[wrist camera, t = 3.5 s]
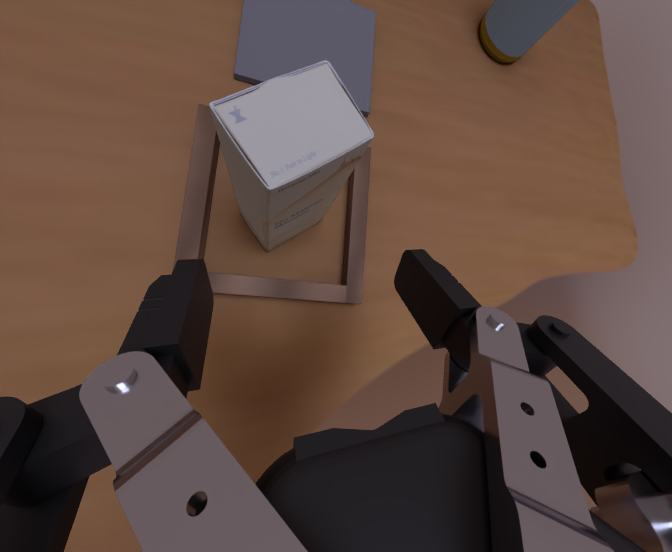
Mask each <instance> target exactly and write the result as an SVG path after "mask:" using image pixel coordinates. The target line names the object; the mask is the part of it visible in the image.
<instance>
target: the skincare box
mask: <svg viewBox="0 0 672 552" xmlns="http://www.w3.org/2000/svg"><path fill="white" fill-rule="evenodd" d="M209 107H210V110H211V114H212V117H213V121H214V124H215V127H216V131H217V134H218V137H219V141H220V144H221V148H222V151H223V155H224V158H225V162H226V165H227V169H228V172H229V176H230V179H231V182H232V186H233V189H234V193H235V196H236V200H237V203H238V207H239V210H240V213H241V215H242V217H243V218H244V220H245V221H246V223H247V224H248V226H249V227H250V229H251V230H252V232H253V233H254V235H255V236H256V238H257V239H258V240H259V242H260V243H261V244H262V246H263V247H264V249H265V250H266V251H267V252H269V251H271V250H272V249H274V248H276V247H277V246H279V245H281V244H283V243H285V242H286V241H288V240H290V239H291V238H293V237H295V236H297V235H298V234H300V233H302V232H303V231H305V230H307V229H308V228H310V227H312V226H313V225H315V224H316V223H318V222H320V221H321V220H322V219H323V217H324V216H325V214H326V213H327V211H328V209H329V208H330V206H331V205H332V203H333V202H334V200H335V198H336V197H337V195H338V194H339V192H340V190H341V189H342V187H343V185H344V184H345V182H346V181H347V179H348V177H349V176H350V174H351V173H352V171H353V170H354V168H355V166H356V165H357V163H358V161H359V160H360V158H361V157H362V155H363V154H364V152H365V150H366V149H367V147H368V146H369V144H370V142H371V141H372V139H373V138H374V134H373V131H372V130H371V128H370V126H369V125H368V123H367V122H366V120H365V118H364V117H363V115H362V113H361V112H360V110H359V108H358V107H357V105H356V103H355V102H354V100H353V98H352V97H351V95H350V94H349V92H348V90H347V89H346V87H345V86H344V84H343V82H342V81H341V79H340V78H339V76H338V74H337V73H336V71H335V70H334V68H333V67H332V65H331V64H330V62H328V61H326V60H324V61H321V62H318V63H316V64H313V65H310V66H307V67H304V68H302V69H298V70H296V71H293V72H290V73H288V74H284V75H281V76H278V77H275V78H273V79H270V80H268V81H265V82H263V83H260V84H258V85H255V86H253V87H250V88H247V89H245V90H242V91H240V92H237V93H235V94H232V95H230V96H227V97H225V98H223V99H219V100H216V101H213V102H211V103H210V104H209Z"/></svg>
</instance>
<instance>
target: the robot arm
mask: <svg viewBox="0 0 672 552" xmlns="http://www.w3.org/2000/svg"><path fill="white" fill-rule="evenodd" d="M394 285H395V289H396V291H397V292H398V294H399V295H400V297H401V299H402V300H403V302H404V303H405V305H406V306H407V308H408V310H409V311H410V313H411V314H412V316H413V317H414V319H415V321H416V322H417V324H418V325H419V327H420V328H421V330H422V332H423V333H424V335H425V336H426V338H427V339H428V341H429V343H430V344H431V346H432V347H433V349H439V348H445V347H446V349H447V350H448V352H447V353H446V355H445V363H444V379H443V395H442V400H441V403H440V406H439V408H438V407H437V405H436V403H434V404H430V405H426V406H422V407H418V408H414V409H409V410H405V411H404V412H402V413H400V414H399V415H397V416H396V417H394V418H393V419H391V420H390V421H388V422H387V423H385V424H384V425H382V426H380V427H379V428H377V429H375V430H357V429H356V430H355V429H338V428H332V429H328V430H324V431H320V432H316V433H312V434H308V435H303V436H299V437H295V438H294V445H293V449H291V450H290V451H288V452H286V453H285V454H283V455H282V456H281V457H280V458H278V459H277V460H276V461H275V462H274V463H273V464H272V465H271V466H270V467H269V468H268V469H267V470H266V471H265V472H264V473H263V475H262V476H261V477H260V478H259V479H258V481H257V482H256V484H254V482H253V481H252V480H251V478H250V477H249V476H248V475H247V473H246V472H245V471H244V469H243V468H242V467H241V466H240V464H239V463H238V462H237V460H236V459H235V458H234V457H233V455H232V454H231V453H230V452H229V450H228V449H227V448H226V446H225V445H224V444H223V443H222V441H221V440H220V439H219V437H218V436H217V435H216V434H215V432H214V431H213V430H212V428H211V427H210V426H209V425H208V423H207V422H206V421H205V420H204V418H203V417H202V416H201V415H200V414H199V413H198V412H196V411H195V410H194V409H193V407H192V406H191V405H190V404H189V402H188V401H187V400H186V397H187V392H188V391H193V390H199V389H200V385H201V379H202V373H203V367H204V361H205V354H206V348H207V342H208V336H209V330H210V324H211V317H212V311H213V292H212V288H211V284H210V280H209V276H208V273H207V269H206V265H205V262H204V260H203V259H185V260H177V262H176V264H175V267H174V270H173V272H172V275H161V276H160V277H159V278H158V279H157V280H156V281H155V282H153V283H152V284H151V285H150V286H149V288H148V290H147V292H146V294H145V296H144V301H142V303H141V305H140V307H139V312H137V314H136V316H135V318H134V320H133V322H132V324H131V327H130V329H129V331H128V333H127V335H126V337H125V339H124V342H123V344H122V346H121V348H120V350H119V352H118V354H117V356H115V357H112V358H110V359H108V360H107V361H105V362H103V363H102V364H100V365H99V366H98V367H96V368H95V369H94V370H93V371H92V372H91V373H90V374H89V375H88V376H87V378H86V379H85V381H84V382H83V384H81V385H78V386H76V387H74V388H71V389H68V390H66V391H63V392H60V393H58V394H55V395H52V396H50V397H47V398H44V399H42V400H39V401H36V402H34V403H31V404H29V405H27V404H26V403H24V402H22V401H21V400H19V399H17V398H14V397H0V552H64V549H65V546H66V543H67V540H68V537H69V534H70V531H71V528H72V526H73V523H74V520H75V517H76V514H77V511H78V508H79V505H80V502H81V499H82V496H83V493H84V490H85V487H86V484H87V481H88V479H89V476H90V475H92V474H94V473H96V472H97V471H99V470H101V469H103V468H105V467H107V466H109V465H111V464H112V465H113V467H114V469H115V472H116V479H114V481H113V485H114V490H115V493H116V496H117V498H118V500H119V503H120V505H121V507H122V509H123V511H124V513H125V515H126V517H127V519H128V521H129V524H130V526H131V528H132V530H133V532H134V534H135V536H136V538H137V540H138V542H139V544H140V546H141V549H142V551H143V552H672V413H671V412H669V411H668V410H667V409H666V408H665V407H664V406H662V405H661V404H660V403H659V402H658V401H657V400H655V399H654V398H653V397H652V396H651V395H650V394H648V392H646V391H645V390H644V389H643V388H642V387H641V386H639V385H638V384H637V383H636V382H635V381H634V380H633V379H631V378H630V377H629V376H628V375H627V374H626V373H625V372H623V371H622V370H621V369H620V368H619V367H618V366H616V365H615V364H614V363H613V362H612V361H611V360H609V359H608V358H607V357H606V356H605V355H604V354H603V353H601V352H600V351H599V350H598V349H597V348H596V347H595V346H593V345H592V344H591V343H590V342H589V341H588V340H586V339H585V338H584V337H583V336H582V335H581V334H580V333H578V332H577V331H576V330H575V329H574V328H573V327H571V326H570V325H568V324H567V323H565V322H563V321H562V320H559V319H557V318H554V317H551V316H540V317H538V318H537V319H536V320H535V321H534V323H532V324H531V325H529V324H523V323H516V322H515V321H514V320H513V319H512V318H511V317H510V316H509V315H507V314H506V313H504V312H502V311H501V310H498V309H496V308H493V307H487V306H484V307H482V306H481V305H480V304H479V303H478V302H477V301H476V300H475V299H474V298H473V296H472V295H471V294H470V293H469V292H468V291H467V290H466V289H465V288H464V287H463V286H462V285H461V284H460V283H458V281H457V280H456V279H455V277H454V276H452V274H451V273H450V272H449V271H448V270H447V269H446V268H445V267H444V266H442V265H441V264H439V263H438V262H436V261H435V260H433V259H432V258H431V256H430V255H429V254H428V253H427V252H426V251H425V250H423V249H419V250H406V251H405V252H404V253H403V255H402V258H401V261H400V263H399V266H398V269H397V272H396V275H395V278H394ZM556 366H558V367H559V368H560V369H561V370H562V371H563V372H564V373H565V374H566V375H567V376H568V377H569V378H570V379H571V380H572V382H573V383H574V384H575V385H576V386H577V387H578V388H579V389H580V390H581V391H582V392H583V393H584V394H585V396H586V397H587V399H588V402H589V406H588V409H587V410H586V411H584V412H582V413H581V414H579V413H578V412H577V411H576V410H575V409H574V408H573V407H572V406H571V405H570V403H569V402H568V401H567V400H566V399H565V398H564V397H563V396H562V395H561V393H560V392H559V391H558V390H557V389H556V388H555V386H554V385H553V384H552V383H551V382H550V381H549V380H548V379H547V377H546V376H545V375H546V374H547V373H548V372H550V371H551V370H552V369H553V368H555V367H556ZM640 469H641V470H640ZM580 483H581V484H580ZM581 485H582V486H583V487H584V489H585V490H586V491H587V493H588V494H589V496H590V497H591V498H592V500H593V501H594V502H595V504H596V505H597V506H596V507H592V508H591V509H590V510H589V509H588V506H587V503H586V500H585V497H584V493H583V490H582V487H581Z"/></svg>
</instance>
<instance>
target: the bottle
mask: <svg viewBox="0 0 672 552" xmlns="http://www.w3.org/2000/svg"><path fill="white" fill-rule="evenodd" d="M578 1H579V0H495V1H494V3H493V4H492V5H491V7H490V8H489V9H488V11H487V12H486V14H485V15H484V17H483V19H482V22H481V28H480V37H481V42H482V44H483V46H484V48H485V50H486V51H487V52H488V54H489V55H490V56H491V57H493V58H494V59H495V60H497V61H499V62H504V63H508V62H513V61H516V60H518V59H519V58H520V57H521V56H522V55H524V54H525V53H526V52H527V51H528V50H529V49H530V48H531V47H532V46H533V45H534V44H535V43H536V42H537V41H538V40H539V39H540V38H541V37H542V36H543V35H544V34H545V33H546V32H547V31H548V30H549V29H550V28H551V27H553V26H554V25H555V24H556V23H557V22H558V21H559V20H560V19H561V18H562V17H563V16H564V15H565V14H566V13H567V12H568V11H569V10H570V9H571V8H572V7H573V6H574V5H575V4H576V3H577V2H578Z"/></svg>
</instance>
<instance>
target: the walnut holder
mask: <svg viewBox="0 0 672 552" xmlns="http://www.w3.org/2000/svg"><path fill="white" fill-rule="evenodd" d="M219 145H220V141H219V137H218V134H217V131H216V127H215V124H214V121H213V117H212V114H211V110H210V107H209V106H205V105H201V104H199V107H198V114H197V120H196V127H195V133H194V140H193V146H192V153H191V159H190V166H189V172H188V178H187V185H186V191H185V198H184V204H183V211H182V217H181V224H180V230H179V237H178V243H177V250H176V256H175V263H174V267H175V264H176V262H177V260H185V259H203V260H204V252H205V245H206V238H207V231H208V224H209V217H210V210H211V202H212V195H213V188H214V181H215V174H216V167H217V160H218V152H219ZM370 156H371V148H370V147H367V149H366V150H365V152H364V154H363V155H362V157H361V158H360V160H359V161H358V163H357V165H356V166H355V168H354V170H353V171H352V173H351V174H350V176H349V188H348V202H347V216H346V230H345V245H344V259H343V273H342V285H334V284H324V283H313V282H303V281H293V280H282V279H272V278H261V277H251V276H241V275H230V274H220V273H209V272H207V273H208V276H209V280H210V284H211V288H212V292H213V293H222V294H235V295H248V296H261V297H274V298H287V299H300V300H313V301H326V302H339V303H352V304H362V289H363V272H364V256H365V239H366V222H367V206H368V189H369V173H370ZM173 270H174V269H173Z"/></svg>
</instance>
